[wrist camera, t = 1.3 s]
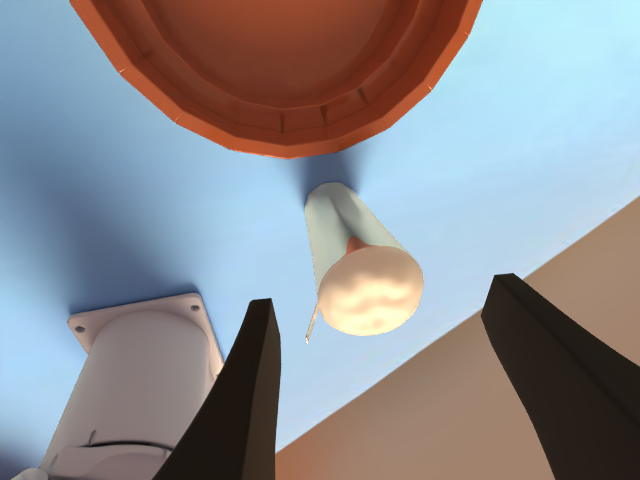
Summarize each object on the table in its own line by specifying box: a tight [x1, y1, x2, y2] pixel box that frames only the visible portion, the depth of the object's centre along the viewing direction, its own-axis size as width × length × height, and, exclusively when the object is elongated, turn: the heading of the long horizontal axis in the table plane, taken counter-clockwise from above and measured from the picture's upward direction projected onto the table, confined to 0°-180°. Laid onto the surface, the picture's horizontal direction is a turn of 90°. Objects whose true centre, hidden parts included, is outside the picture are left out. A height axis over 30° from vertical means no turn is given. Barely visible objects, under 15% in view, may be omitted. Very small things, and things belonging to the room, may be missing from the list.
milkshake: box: [304, 182, 423, 344], centre depth 17 cm, size 4×5×10 cm
